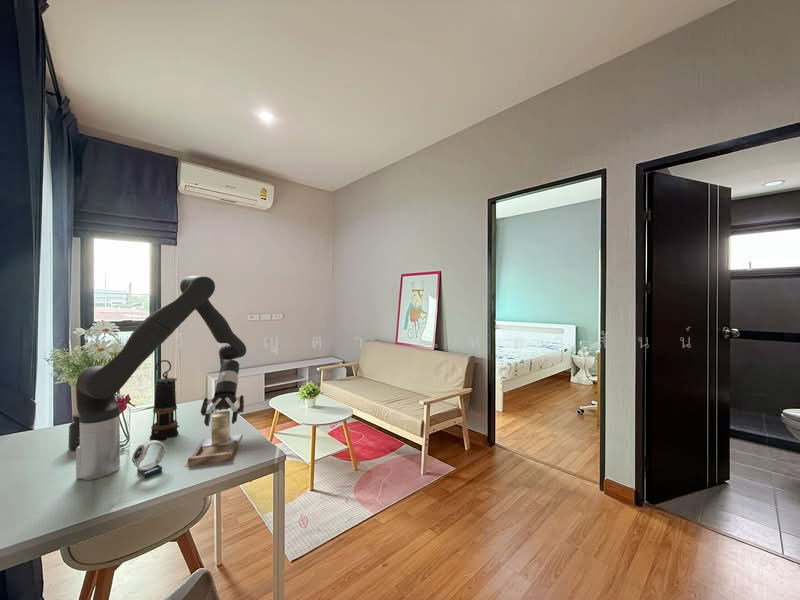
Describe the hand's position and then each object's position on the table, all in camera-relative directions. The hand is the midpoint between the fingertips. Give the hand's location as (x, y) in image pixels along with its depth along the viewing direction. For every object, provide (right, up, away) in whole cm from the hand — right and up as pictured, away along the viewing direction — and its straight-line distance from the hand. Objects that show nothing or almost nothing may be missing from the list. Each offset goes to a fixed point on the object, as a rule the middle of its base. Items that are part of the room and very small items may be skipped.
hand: (220, 424), depth 119 cm
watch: (-10, -9, -20) cm, 24 cm away
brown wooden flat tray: (+1, -9, -5) cm, 10 cm away
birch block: (-1, -7, +1) cm, 7 cm away
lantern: (-27, -8, +8) cm, 29 cm away
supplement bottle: (-50, -8, -1) cm, 51 cm away
